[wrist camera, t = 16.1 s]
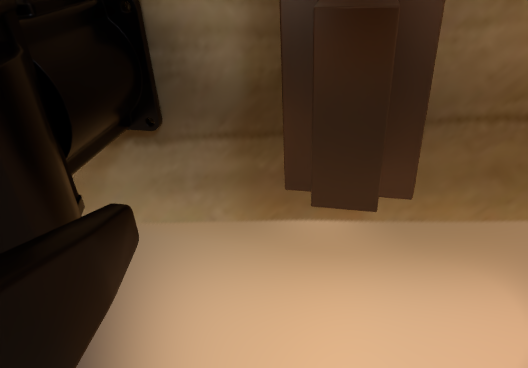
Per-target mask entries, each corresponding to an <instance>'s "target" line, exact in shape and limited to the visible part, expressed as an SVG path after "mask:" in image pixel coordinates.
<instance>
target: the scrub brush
mask: <svg viewBox="0 0 528 368" xmlns="http://www.w3.org/2000/svg"><path fill="white" fill-rule="evenodd" d="M444 4H445V0H280V32H281V67H282V103H283V138H284V174H285V189H286V190H298V191H310V192H311V206H313V207H325V208H336V209H347V210H359V211H370V212H377V207H378V199H379V197H385V198H398V199H410V200H411V199H412V198H413V193H414V187H415V181H416V175H417V169H418V163H419V157H420V151H421V144H422V138H423V132H424V126H425V120H426V114H427V108H428V102H429V96H430V90H431V84H432V77H433V71H434V65H435V59H436V53H437V47H438V41H439V35H440V29H441V23H442V17H443V10H444Z"/></svg>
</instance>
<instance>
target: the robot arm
mask: <svg viewBox="0 0 528 368" xmlns="http://www.w3.org/2000/svg"><path fill="white" fill-rule="evenodd" d="M126 1H127V2H129V3H130V5H131V11H128V10H127V9H126V7H125V2H126ZM149 117H150V118H152V119H153V120H154V123H152V122H150V120H149ZM161 124H162V116H161V111H160V106H159V100H158V95H157V90H156V85H155V80H154V74H153V69H152V64H151V59H150V53H149V48H148V43H147V38H146V33H145V27H144V22H143V17H142V12H141V7H140V3H139V0H0V368H76V366H77V365H78V363H79V361H80V359H81V357H82V356H83V354H84V352H85V351H86V349H87V347H88V345H89V343H90V342H91V340H92V338H93V336H94V335H95V333H96V331H97V329H98V328H99V326H100V324H101V322H102V321H103V319H104V317H105V315H106V313H107V312H108V310H109V308H110V306H111V304H112V302H113V300H114V298H115V296H116V294H117V291H118V289H119V287H120V284H121V282H122V280H123V277H124V275H125V273H126V271H127V268H128V266H129V264H130V261H131V259H132V257H133V254H134V252H135V250H136V248H137V245H138V241H139V234H138V230H137V226H136V222H135V218H134V215H133V211H132V209H131V207H130V206H128V205H124V204H109V205H107V206H104V207H102V208H100V209H98V210H96V211H93V212H91V213H89V214H87V215H85V216H81V215H82V212H83V210H84V208H85V206H84V203H83V200H82V197H81V195H78V193H77V190H76V187H75V184H74V181H73V178H72V175H73V174H74V173H75V172H76V171H78V170H79V169H80V168H81V167H82V166H84V165H85V164H86V163H87V162H88V161H90V160H91V159H92V158H93V157H94V156H96V155H97V154H98V153H99V152H100V151H102V150H103V149H104V148H105V147H106V146H108V145H109V144H110V143H111V142H112V141H114V140H115V139H116V138H117V137H118V136H120V135H121V134H122V133H123V132H124V131H126V130H146V131H154V130H156V129H157V128H159V127H160V126H161Z"/></svg>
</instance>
